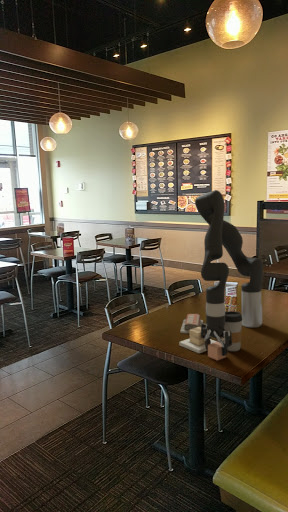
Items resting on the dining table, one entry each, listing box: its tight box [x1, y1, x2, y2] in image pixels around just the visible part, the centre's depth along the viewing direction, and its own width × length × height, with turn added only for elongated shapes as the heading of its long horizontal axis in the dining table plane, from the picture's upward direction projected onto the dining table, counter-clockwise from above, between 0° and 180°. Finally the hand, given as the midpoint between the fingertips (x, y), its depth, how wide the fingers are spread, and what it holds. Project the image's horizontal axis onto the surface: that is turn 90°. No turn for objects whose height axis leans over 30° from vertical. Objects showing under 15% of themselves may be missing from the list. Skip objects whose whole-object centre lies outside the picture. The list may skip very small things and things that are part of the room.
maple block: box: [188, 327, 208, 345], centre depth 162 cm, size 6×6×6 cm
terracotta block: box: [207, 341, 227, 361], centre depth 150 cm, size 5×5×5 cm
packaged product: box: [180, 313, 204, 334], centre depth 186 cm, size 18×5×10 cm
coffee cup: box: [223, 310, 243, 352], centre depth 157 cm, size 8×8×15 cm
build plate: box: [178, 337, 218, 354], centre depth 163 cm, size 12×12×2 cm
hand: (216, 352), depth 150 cm, fingers open, 8 cm apart
